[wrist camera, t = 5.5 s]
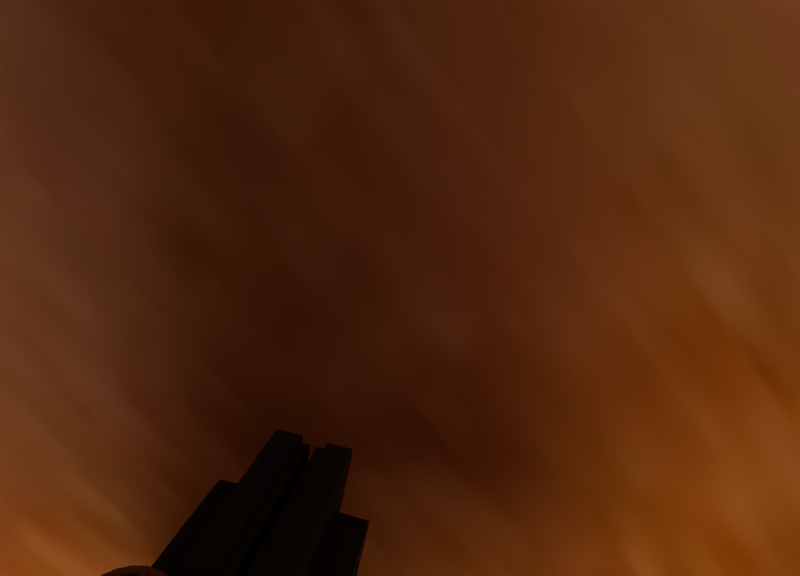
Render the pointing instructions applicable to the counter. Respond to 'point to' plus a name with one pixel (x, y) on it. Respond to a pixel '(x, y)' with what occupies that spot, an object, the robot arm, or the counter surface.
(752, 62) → the counter surface
